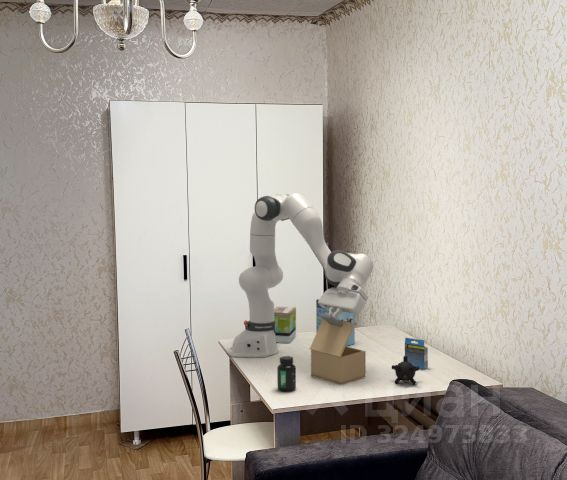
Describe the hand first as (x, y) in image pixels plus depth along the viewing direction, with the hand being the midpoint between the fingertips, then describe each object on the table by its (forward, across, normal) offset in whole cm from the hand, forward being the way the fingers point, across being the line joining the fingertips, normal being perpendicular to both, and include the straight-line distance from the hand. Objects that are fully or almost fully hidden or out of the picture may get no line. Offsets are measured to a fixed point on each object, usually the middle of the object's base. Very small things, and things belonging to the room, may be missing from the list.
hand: (331, 318), depth 275 cm
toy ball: (+5, +24, +29) cm, 38 cm away
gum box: (-9, -33, +43) cm, 55 cm away
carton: (+14, 0, +20) cm, 24 cm away
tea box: (-4, -60, +38) cm, 71 cm away
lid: (+5, 0, +6) cm, 8 cm away
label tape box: (-8, +13, +43) cm, 45 cm away
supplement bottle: (+32, -2, +2) cm, 32 cm away
